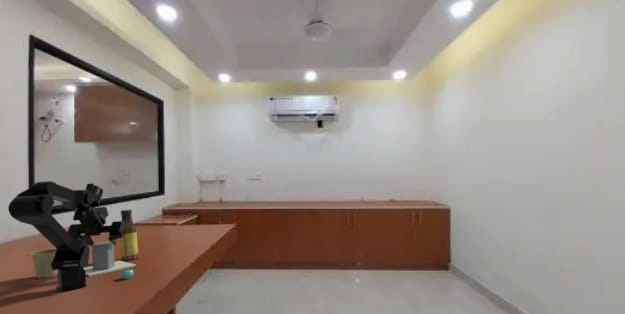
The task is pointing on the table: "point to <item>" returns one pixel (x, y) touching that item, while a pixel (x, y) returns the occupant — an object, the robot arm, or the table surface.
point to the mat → (118, 266)
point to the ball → (127, 274)
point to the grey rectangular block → (103, 256)
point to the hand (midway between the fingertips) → (104, 244)
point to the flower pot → (44, 263)
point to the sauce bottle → (128, 237)
